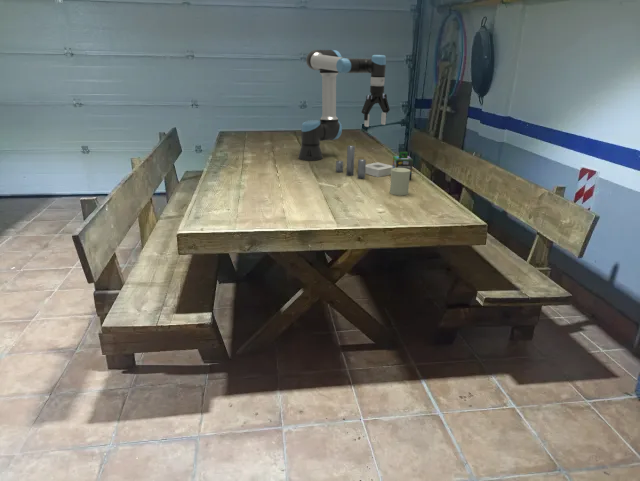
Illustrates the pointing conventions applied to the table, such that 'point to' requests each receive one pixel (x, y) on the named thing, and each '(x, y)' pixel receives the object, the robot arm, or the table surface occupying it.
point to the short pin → (339, 166)
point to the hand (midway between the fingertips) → (375, 125)
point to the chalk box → (403, 162)
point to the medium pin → (361, 168)
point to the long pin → (350, 160)
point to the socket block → (378, 169)
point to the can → (399, 181)
